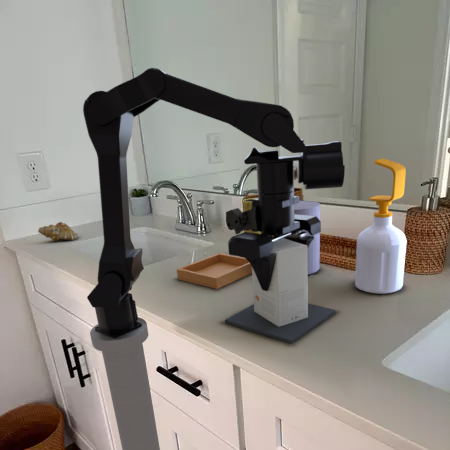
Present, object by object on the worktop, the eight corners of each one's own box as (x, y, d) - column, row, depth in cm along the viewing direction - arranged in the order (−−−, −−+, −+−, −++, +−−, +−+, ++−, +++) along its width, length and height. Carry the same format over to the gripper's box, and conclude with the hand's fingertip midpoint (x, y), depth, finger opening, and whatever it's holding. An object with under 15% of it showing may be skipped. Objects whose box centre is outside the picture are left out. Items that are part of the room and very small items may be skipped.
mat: (291, 343, 67) (291, 340, 67) (224, 322, 76) (224, 319, 76) (334, 312, 77) (335, 309, 76) (271, 297, 86) (271, 294, 85)
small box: (308, 318, 74) (308, 245, 69) (278, 327, 71) (275, 252, 66) (282, 303, 81) (280, 236, 76) (253, 312, 78) (249, 242, 73)
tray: (217, 289, 92) (216, 278, 91) (177, 279, 100) (176, 269, 99) (258, 270, 102) (258, 260, 101) (219, 262, 110) (218, 253, 109)
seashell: (63, 253, 143) (41, 229, 138) (55, 252, 150) (34, 230, 145) (82, 235, 147) (62, 211, 142) (74, 235, 153) (54, 213, 148)
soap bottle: (368, 275, 93) (375, 157, 83) (410, 284, 86) (422, 156, 77) (346, 288, 87) (351, 162, 78) (389, 298, 81) (400, 162, 72)
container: (297, 260, 107) (296, 199, 101) (328, 269, 99) (330, 203, 93) (265, 269, 101) (263, 206, 96) (296, 280, 94) (295, 211, 88)
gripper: (269, 181, 79) (272, 262, 85) (198, 199, 67) (207, 291, 73) (322, 183, 72) (322, 270, 78) (254, 203, 60) (259, 305, 66)
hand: (278, 283), depth 74 cm, fingers closed on small box, 7 cm apart
